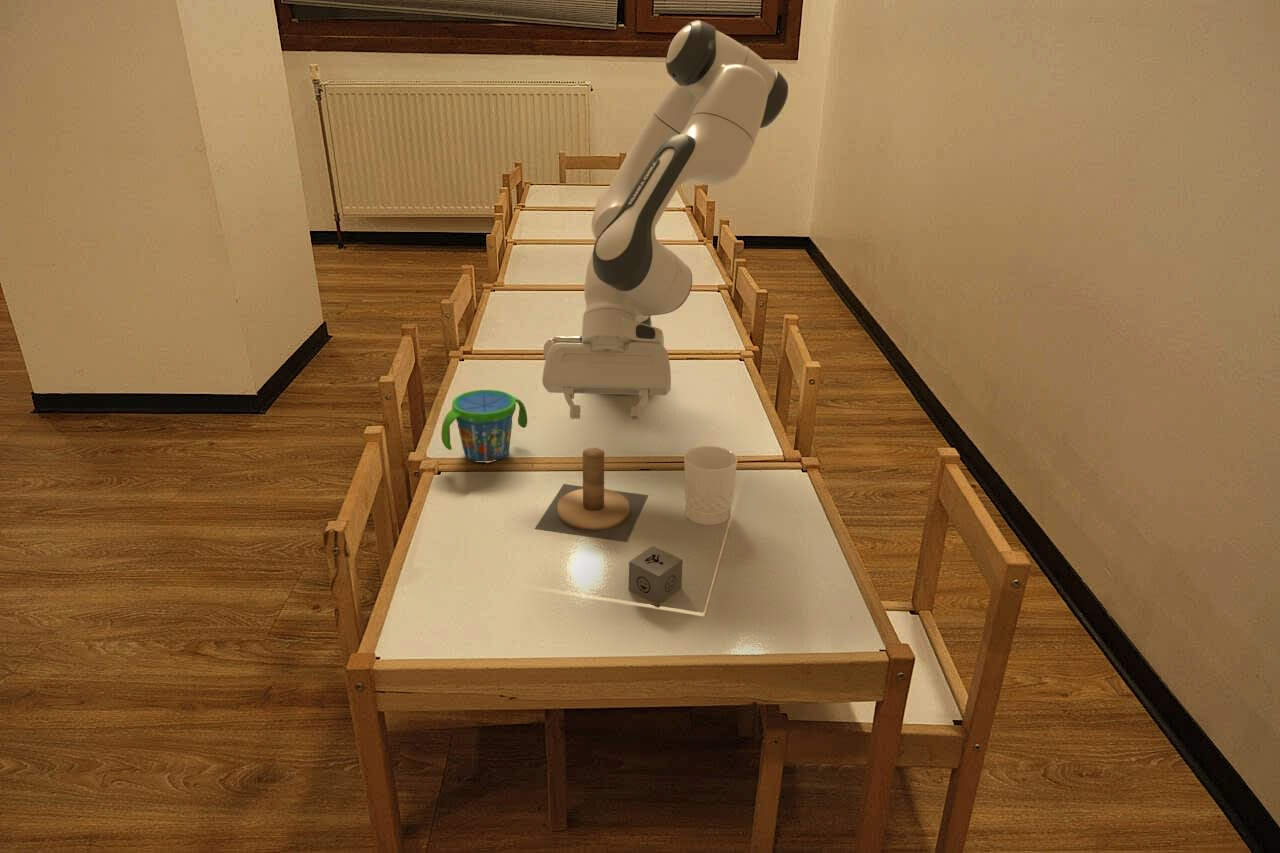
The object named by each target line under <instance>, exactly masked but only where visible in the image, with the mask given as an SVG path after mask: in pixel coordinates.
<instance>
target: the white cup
mask: <svg viewBox="0 0 1280 853" xmlns="http://www.w3.org/2000/svg"><path fill="white" fill-rule="evenodd" d="M683 456H684V458H683V460H684V461H683V463H684V466H683V467H684V470H683V472H684V473H683V475H684V476H683V480H684V482H683V487H684V500H685V502H684V503H685V509H684V510H685V516H686V517H687V519H689V520H690V521H691V522H694V523H697V524H699V525H706V526H707V525H709V526H713V525H715V526H716V525H719V524H720V525H721V524H722V523H724V522H726V521H728V519H729V517H730V515H731V506H732V502H733V497H734V496H733V495H734V489H735V482H736V474H737V466H738V456H737V455H736V454H735V453H734V452H733V451H731V450H730V449H727V448H724V447H720V446H716V445H715V446H713V445H702V446H701V445H700V446H695V447H693V448H691V449H689V450H687V451H686V452H685V453H684V455H683Z"/></svg>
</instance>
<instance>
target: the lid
mask: <svg viewBox="0 0 1280 853" xmlns="http://www.w3.org/2000/svg"><path fill="white" fill-rule="evenodd" d="M582 486H583V489H579V490H575V491H572V492H570V493H568V494H566V495H564V496H563V497H562V498H561V499H560V500H559V502H558V505H557V510H558V516H559V518H560V519H561V521H563V522H564V523H565V524H567V525H569V526H571V527H574V528H578V529H582V530H604V529H609V528H612V527H615V526H617V525H619V524H621V523H623V522H624V521H625V520H626V519H627V518H628V516H629V510H630V505H629V502H628V500H627V499H626V498H625V497H624V496H623V495H621V494H620V493H618V492H615V491H616V490H613V491H612V489H607V488H605V451H604V450H603V449H600V448H596V447H592V448H591V447H590V448H587V449H584V450H583V451H582Z"/></svg>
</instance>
